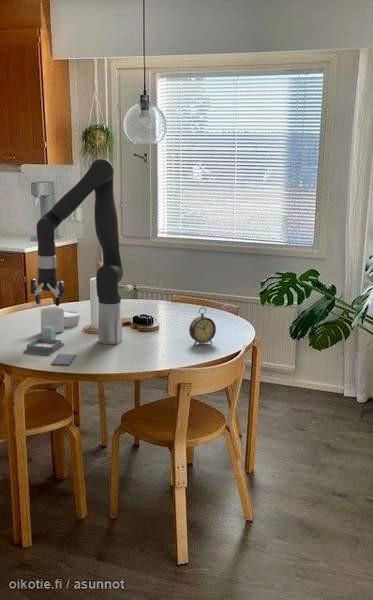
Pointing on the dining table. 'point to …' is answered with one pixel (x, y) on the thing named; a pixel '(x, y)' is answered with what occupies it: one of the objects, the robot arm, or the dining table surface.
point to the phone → (63, 359)
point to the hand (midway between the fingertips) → (47, 304)
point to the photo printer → (53, 317)
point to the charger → (48, 332)
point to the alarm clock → (202, 329)
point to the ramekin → (71, 318)
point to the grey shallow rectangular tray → (43, 346)
